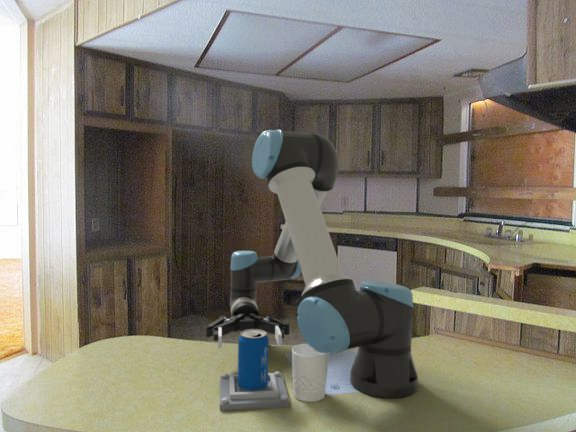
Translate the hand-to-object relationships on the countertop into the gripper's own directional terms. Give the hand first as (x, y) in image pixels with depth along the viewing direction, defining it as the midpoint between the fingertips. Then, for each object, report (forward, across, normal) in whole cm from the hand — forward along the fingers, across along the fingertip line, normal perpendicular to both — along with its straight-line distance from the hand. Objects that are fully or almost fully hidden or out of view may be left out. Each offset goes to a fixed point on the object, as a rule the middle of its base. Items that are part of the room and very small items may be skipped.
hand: (250, 341), depth 107 cm
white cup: (+8, -12, -10) cm, 18 cm away
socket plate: (+6, 0, -9) cm, 11 cm away
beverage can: (+6, 0, -8) cm, 10 cm away
